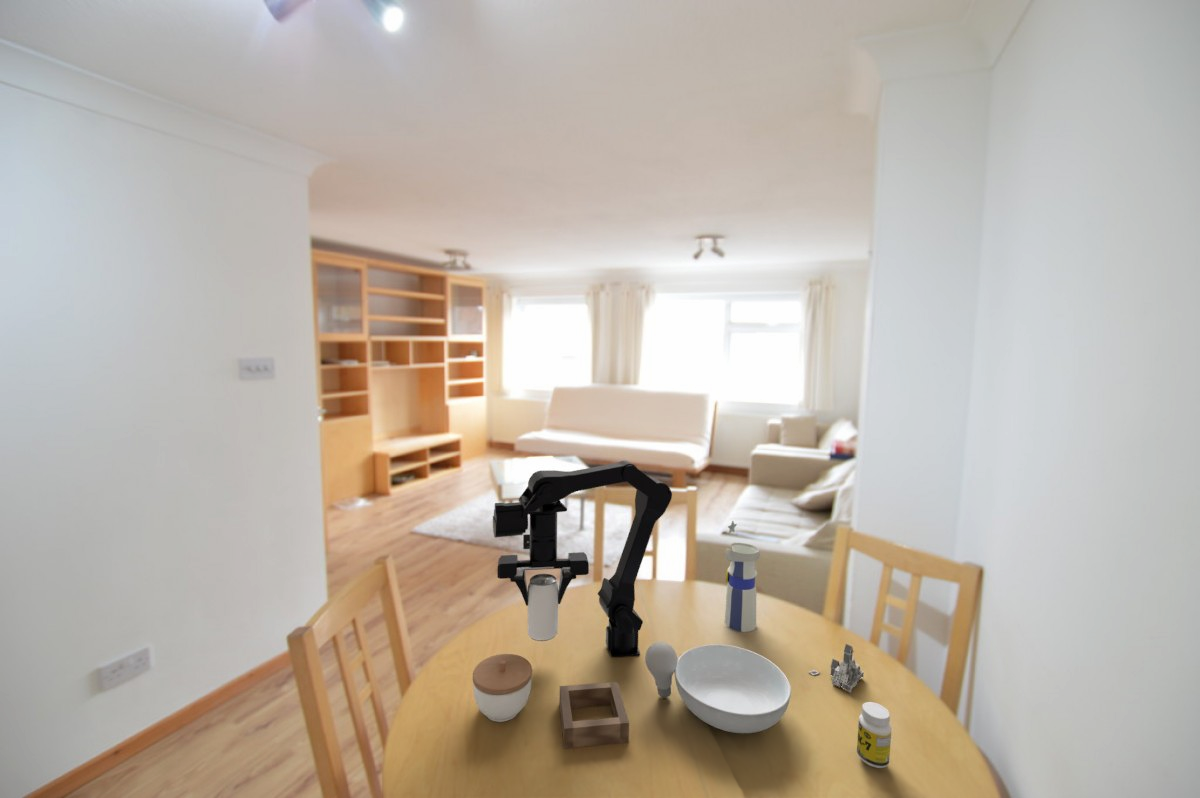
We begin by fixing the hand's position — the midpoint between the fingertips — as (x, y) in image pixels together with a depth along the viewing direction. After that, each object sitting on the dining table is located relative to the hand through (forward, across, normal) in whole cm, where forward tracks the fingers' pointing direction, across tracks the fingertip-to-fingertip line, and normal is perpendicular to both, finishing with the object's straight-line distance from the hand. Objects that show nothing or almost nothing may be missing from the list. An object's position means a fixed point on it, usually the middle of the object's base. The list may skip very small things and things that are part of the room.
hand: (543, 603), depth 107 cm
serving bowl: (+13, -34, +18) cm, 41 cm away
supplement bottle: (+13, -54, +32) cm, 64 cm away
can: (+7, 0, 0) cm, 7 cm away
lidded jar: (+13, +8, +14) cm, 21 cm away
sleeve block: (+13, -8, +19) cm, 24 cm away
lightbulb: (+13, -23, +14) cm, 30 cm away
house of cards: (+14, -62, +10) cm, 64 cm away
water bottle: (+13, -49, -11) cm, 52 cm away
